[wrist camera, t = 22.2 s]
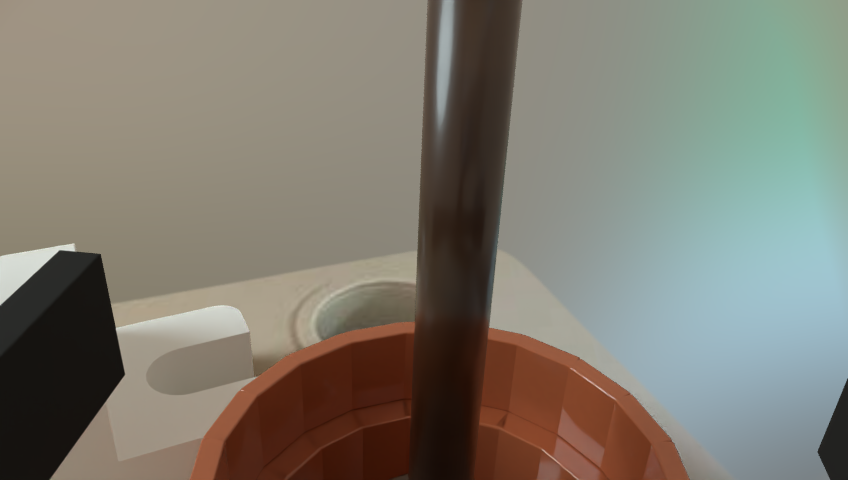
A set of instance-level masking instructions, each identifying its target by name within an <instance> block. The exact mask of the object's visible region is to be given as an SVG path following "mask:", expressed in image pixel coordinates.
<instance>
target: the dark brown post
mask: <svg viewBox="0 0 848 480" xmlns="http://www.w3.org/2000/svg"><path fill="white" fill-rule="evenodd" d="M427 7H428V8H427V32H426V57H425V80H424V107H423V129H422V154H421V178H420V203H419V227H418V228H419V229H418V252H417V277H416V301H415V326H414V350H413V375H412V399H411V424H410V449H409V473H408V474H403V475H400V476H397V477H394V478H391V479H389V480H475V479H474V470H475V460H476V450H477V441H478V431H479V421H480V411H481V401H482V391H483V382H484V372H485V362H486V352H487V342H488V333H489V323H490V313H491V303H492V293H493V283H494V274H495V264H496V254H497V244H498V234H499V224H500V215H501V204H502V195H503V185H504V175H505V165H506V155H507V146H508V136H509V126H510V116H511V106H512V97H513V87H514V76H515V67H516V57H517V48H518V37H519V28H520V17H521V8H522V0H428V6H427Z"/></svg>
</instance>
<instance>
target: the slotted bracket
mask: <svg viewBox="0 0 848 480" xmlns="http://www.w3.org/2000/svg"><path fill="white" fill-rule="evenodd" d="M59 250H64V251H74V252H77V251H76V247H75V244H74V243H73V244H68V245H62V246H56V247H50V248H44V249H39V250H33V251H27V252H21V253H15V254H10V255H4V256H0V305H1V304H2V303H3V302H4V301H5V300H7V299H8V298H9V297H10V296H11V295H12V294H13V293H14V292H15V291H16V290H17V289H18V288H19V287H20V286H22V285H23V284H24V283H25V282H26V281H27V280H28V279H29V278H30V277H31V276H32V275H33V274H34V273H36V272H37V271H38V270H39V269H40V268H41V267H42V266H43V265H44V264H45V263H46V262H47V261H48V260H50V259H51V258H52V257H53V256H54V255H55V254H56V253H57V252H58V251H59ZM116 332H117V337H118V342H119V347H120V352H121V356H122V361H123V366H124V371H125V376H124V377H123V378H122V380H121V381H120V383H119V384H118V385H117V387H116V388H115V390H114V391H113V392H112V394H111V395H110V396H109V398H108V399H107V401H106V402H105V403H104V405H103V406H102V408H101V409H100V410H99V412H98V413H97V415H96V416H95V417H94V419H93V420H92V422H91V423H90V424H89V426H88V427H87V429H86V430H85V431H84V433H83V434H82V435H81V437H80V438H79V440H78V441H77V442H76V444H75V445H74V447H73V448H72V449H71V451H70V452H69V454H68V455H67V456H66V458H65V459H64V461H63V462H62V463H61V465H60V466H59V468H58V469H57V470H56V472H55V473H54V474H53V476H52V477H51V479H50V480H189V479H190V476H191V473H192V470H193V466H194V463H195V460H196V457H197V454H198V450H199V447H200V444H201V441H202V439H203V437H204V435H205V434H206V433H207V431H208V430H209V429H210V427H211V426H212V425H213V423H214V422H215V421H216V420H217V418H218V417H219V416H220V414H221V413H222V412H223V410H224V409H225V408H226V407H227V405H228V404H229V403H230V401H231V400H232V399H233V397H234V396H235V395H236V393H237V392H238V391H240V390H241V388H243V387H244V386H246V385H247V384H248V383H250V382H251V381H252V380H254V379H255V378H257V377H258V376H257V377H254V371H253V360H252V350H251V339H250V331H249V329H248V327H247V325H246V323H245V320H244V318H243V316H242V314H241V312H240V311H239V310H238V309H236V308H234V307H231V306H226V305H219V306H213V307H208V308H204V309H199V310H195V311H190V312H186V313H181V314H177V315H172V316H168V317H163V318H158V319H154V320H149V321H145V322H140V323H136V324H131V325H127V326H122V327H118V328H116Z"/></svg>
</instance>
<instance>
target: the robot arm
mask: <svg viewBox="0 0 848 480" xmlns="http://www.w3.org/2000/svg"><path fill="white" fill-rule="evenodd" d="M124 376H125V371H124V366H123V361H122V356H121V352H120V347H119V342H118V337H117V332H116V327H115V322H114V317H113V312H112V307H111V302H110V298H109V293H108V288H107V283H106V278H105V273H104V268H103V263H102V258H101V254H95V253H84V252H74V251H64V250H59V251H58V252H57V253H56V254H55V255H54V256H53V257H52V258H51V259H50V260H48V261H47V262H46V263H45V264H44V265H43V266H42V267H41V268H40V269H39V270H38V271H37V272H36V273H34V274H33V275H32V276H31V277H30V278H29V279H28V280H27V281H26V282H25V283H24V284H23V285H22V286H20V287H19V288H18V289H17V290H16V291H15V292H14V293H13V294H12V295H11V296H10V297H9V298H8V299H7V300H5V301H4V302H3V303H2V304H1V305H0V480H50V479H51V477H52V476H53V474H54V473H55V472H56V470H57V469H58V468H59V466H60V465H61V463H62V462H63V461H64V459H65V458H66V456H67V455H68V454H69V452H70V451H71V449H72V448H73V447H74V445H75V444H76V442H77V441H78V440H79V438H80V437H81V435H82V434H83V433H84V431H85V430H86V429H87V427H88V426H89V424H90V423H91V422H92V420H93V419H94V417H95V416H96V415H97V413H98V412H99V410H100V409H101V408H102V406H103V405H104V403H105V402H106V401H107V399H108V398H109V396H110V395H111V394H112V392H113V391H114V390H115V388H116V387H117V385H118V384H119V383H120V381H121V380H122V378H123V377H124ZM818 454H819V456H820V458H821V460H822V463H823V465H824V467H825V469H826V471H827V473H828V475H829V478H830V480H848V379H847V381H846V384H845V386H844V389H843V391H842V394H841V396H840V398H839V401H838V403H837V406H836V408H835V411H834V413H833V415H832V418H831V421H830V423H829V425H828V428H827V430H826V432H825V435H824V437H823V440H822V442H821V445H820V447H819V449H818Z"/></svg>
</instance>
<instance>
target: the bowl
mask: <svg viewBox="0 0 848 480" xmlns="http://www.w3.org/2000/svg"><path fill="white" fill-rule="evenodd" d="M414 326H415V322H403V323H402V322H398V323H393V324H387V325H382V326H376V327H371V328H365V329H359V330H354V331H348V332H345V333H341V334H338V335H336V336H333V337H331V338H328V339H326V340H324V341H321V342H319V343H316V344H314V345H311V346H309V347H306V348H304V349H301V350H299V351H296V352H294V353H291V354H290V355H289V356H286V357H284V358H283V359H281V360H280V361H279V362H277V363H276V364H275V365H273V366H272V367H270V368H269V369H268V370H266V371H265V372H264V373H262V374H261V375H259V376H258V377H257V378H255V379H254V380H252V381H251V382H250V383H248V384H247V385H246V386H244V387H243V388H241V390H240V391H238V392H237V393H236V395H235V396H234V397H233V399H232V400H231V401H230V403H229V404H228V405H227V407H226V408H225V409H224V410H223V412H222V413H221V414H220V416H219V417H218V418H217V420H216V421H215V422H214V423H213V425H212V426H211V427H210V429H209V430H208V431H207V433H206V434H205V435H204V437H203V439H202V441H201V444H200V447H199V450H198V454H197V457H196V460H195V463H194V466H193V470H192V473H191V476H190V479H189V480H389V479H391V478H394V477H397V476H400V475H403V474H408V473H409V449H410V424H411V399H412V375H413V350H414ZM474 479H475V480H690V479H689V477H688V474H687V472H686V470H685V467H684V465H683V463H682V461H681V458H680V456H679V454H678V451H677V449H676V447H675V445H674V443H673V442H672V440H671V438H670V437H669V436H668V435H667V434H666V433H665V431H664V430H663V429H662V428H661V427H660V426H659V425H658V423H657V422H656V421H655V420H654V419H653V418H652V417H651V415H650V414H649V413H648V412H647V411H646V410H645V409H644V407H643V406H642V405H641V404H640V403H639V402H638V401H637V399H636V398H635V397H634V396H633V395H631V394H630V392H628V391H627V390H625V389H624V388H623V387H621V386H620V385H618V384H617V383H615V382H614V381H612V380H611V379H610V378H608V377H607V376H605V375H604V374H602V373H601V372H599V371H598V370H596V369H595V368H594V367H592V366H591V365H589V364H588V363H586V362H585V361H583V360H582V359H580V358H579V357H577V356H574V355H572V354H570V353H567V352H565V351H562V350H560V349H557V348H555V347H553V346H550V345H548V344H545V343H543V342H540V341H538V340H536V339H533V338H531V337H528V336H526V335H522V334H518V333H513V332H508V331H503V330H498V329H494V328H489V333H488V342H487V352H486V362H485V372H484V382H483V391H482V401H481V411H480V421H479V431H478V441H477V450H476V460H475V470H474Z"/></svg>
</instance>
